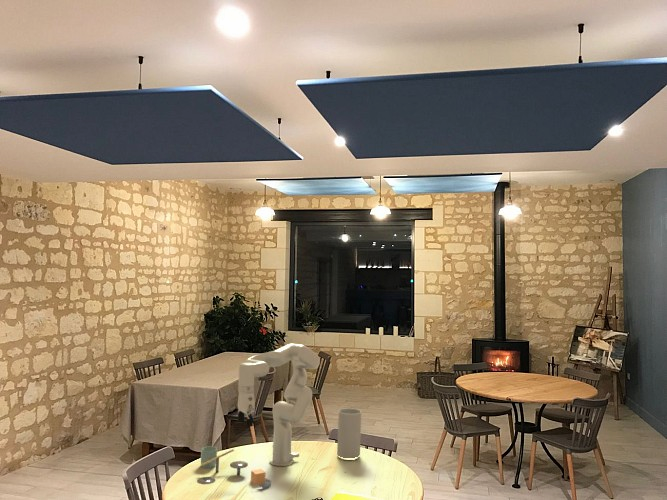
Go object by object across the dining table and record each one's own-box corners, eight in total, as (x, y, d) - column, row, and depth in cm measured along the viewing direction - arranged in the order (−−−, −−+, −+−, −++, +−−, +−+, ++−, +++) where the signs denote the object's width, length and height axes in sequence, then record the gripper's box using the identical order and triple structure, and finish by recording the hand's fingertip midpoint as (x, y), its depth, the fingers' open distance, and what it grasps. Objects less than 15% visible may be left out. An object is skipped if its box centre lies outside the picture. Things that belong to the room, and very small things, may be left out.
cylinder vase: (362, 460, 285) (363, 413, 287) (339, 461, 283) (341, 414, 284) (356, 453, 298) (357, 408, 299) (334, 453, 295) (336, 408, 296)
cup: (212, 472, 262) (213, 451, 262) (197, 470, 263) (198, 450, 264) (218, 466, 269) (219, 446, 270) (204, 465, 271) (205, 445, 271)
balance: (239, 469, 266) (239, 446, 267) (249, 479, 254) (250, 455, 255) (190, 477, 254) (191, 454, 254) (199, 488, 241) (201, 463, 242)
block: (260, 479, 251) (261, 468, 252) (265, 483, 247) (265, 472, 247) (250, 481, 249) (251, 470, 249) (255, 485, 245) (255, 474, 245)
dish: (264, 478, 256) (264, 475, 256) (274, 487, 246) (275, 484, 246) (241, 482, 250) (241, 480, 250) (250, 492, 240) (251, 489, 240)
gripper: (261, 391, 253) (260, 427, 252) (245, 384, 267) (244, 418, 267) (246, 393, 249) (245, 429, 248) (231, 385, 263) (230, 420, 262)
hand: (245, 423), depth 257 cm, fingers open, 9 cm apart
